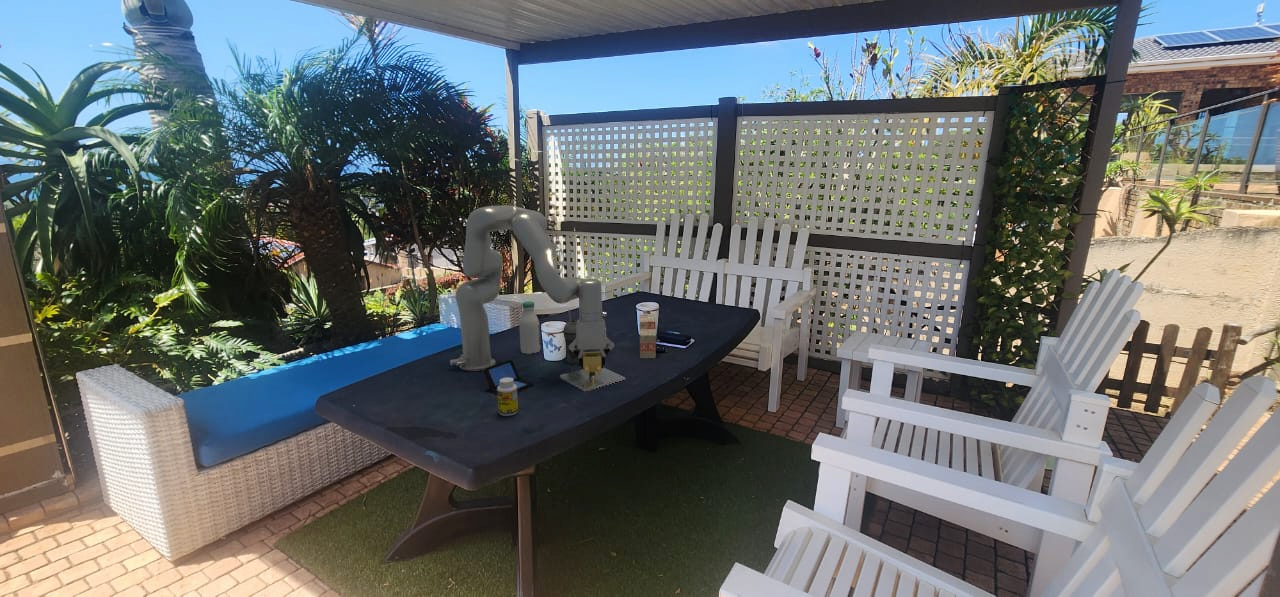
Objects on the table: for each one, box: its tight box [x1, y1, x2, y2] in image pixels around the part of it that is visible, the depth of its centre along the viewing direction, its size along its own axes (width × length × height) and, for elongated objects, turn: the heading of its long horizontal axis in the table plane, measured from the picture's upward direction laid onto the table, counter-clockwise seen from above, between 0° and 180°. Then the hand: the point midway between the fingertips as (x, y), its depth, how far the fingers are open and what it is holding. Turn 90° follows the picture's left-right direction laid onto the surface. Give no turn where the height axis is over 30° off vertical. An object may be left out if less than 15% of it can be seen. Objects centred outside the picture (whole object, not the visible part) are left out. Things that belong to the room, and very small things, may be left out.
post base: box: [559, 356, 626, 393], centre depth 180 cm, size 16×16×8 cm
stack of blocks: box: [639, 313, 657, 359], centre depth 211 cm, size 21×6×12 cm, turn 0°
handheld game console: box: [482, 359, 534, 395], centre depth 173 cm, size 12×11×7 cm
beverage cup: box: [562, 309, 579, 364], centre depth 197 cm, size 7×7×20 cm
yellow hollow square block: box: [582, 351, 602, 376], centre depth 178 cm, size 10×6×5 cm, turn 8°
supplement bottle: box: [496, 377, 519, 417], centre depth 154 cm, size 6×6×10 cm
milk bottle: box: [519, 300, 541, 355], centre depth 209 cm, size 8×8×20 cm
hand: (592, 367), depth 180 cm, fingers closed on yellow hollow square block, 6 cm apart
